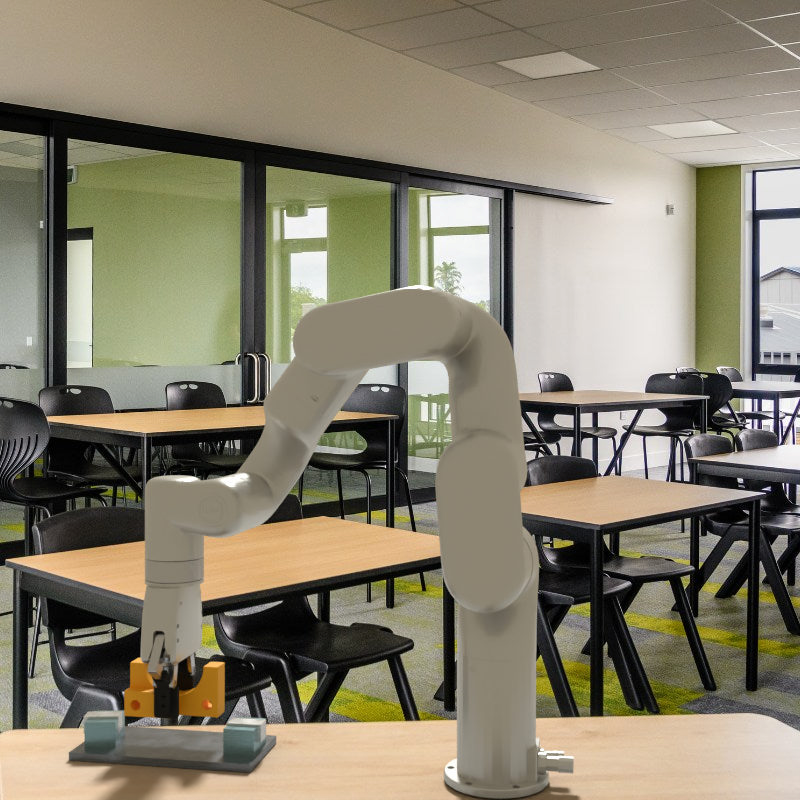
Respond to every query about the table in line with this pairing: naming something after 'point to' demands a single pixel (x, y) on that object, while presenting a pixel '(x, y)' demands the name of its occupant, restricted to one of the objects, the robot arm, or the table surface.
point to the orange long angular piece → (190, 701)
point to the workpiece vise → (173, 744)
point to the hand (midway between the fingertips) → (174, 710)
